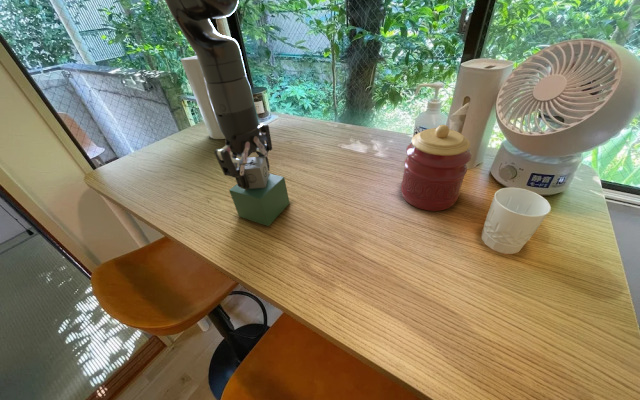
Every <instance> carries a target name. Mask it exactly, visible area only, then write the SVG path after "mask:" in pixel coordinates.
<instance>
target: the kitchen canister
mask: <svg viewBox="0 0 640 400" xmlns="http://www.w3.org/2000/svg"><path fill="white" fill-rule="evenodd" d="M470 147H471V141H470V140H469V139H468V138H467V137H466V136H464V135H463V134H462V133H461V132H459V131H457V130H454V129H450V127H449V126H448V125H446V124H439V125H437V127H431V128H427V129H424V130H422V131H420V132H418V133H416V134H414V135H413V136H412V138H411V142H410V143H409V144H408V145H407V146H406V149H405V150H406V151H405V152H406V155H407V157H406V158H405V160H404V164H403V165H404V169H403V175H402V181H401V184H400V190H401V196H402V198H403V199H404V200H405V202H406V203H408V204H410V205H411V206H413V207H414V208H418V209H420V210H424V211H432V212H433V211H434V212H436V211H444V210H447V209H449V208H451V207H453V206H454V205H455V204H456V202H457V201H458V199H459V197H460V194H461V187H462V184H463V182H464V178H465V175H466V174H467V172H468V166H467V164H468V163H469V162H470V161H471V159H472V155H473V154H472V151H471V150H470Z"/></svg>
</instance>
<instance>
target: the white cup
mask: <svg viewBox="0 0 640 400" xmlns="http://www.w3.org/2000/svg"><path fill="white" fill-rule="evenodd" d="M551 211H552V207H551V204H550V202H549V201H548V200H547V199H546V198H545V197H543V196H542V195H540V194H538V193H536V192H535V191H532V190H529V189H525V188H521V187H512V186H511V187H502V188H500V189H498V190H496V191H495V193H494V195H493V197H492V200H491V204H490V206H489V209H488V212H487V214H486V218H485V221H484V224H483V228H482V231H481V237H480V238H481V240H482V242H483V243H484V244H485V246H487V247H488V248H489V249H491V250H493V251H495V252H497V253H499V254H505V255H514V254H518V253H519V252H520V251H521V250H522V249H523V248H524V246H525V245H526V243H528V242H529V241H530V239H531V238H532V237H533V236H534V234H535V233H536V232H537V230H538V229H539V227H540V226H541V225H542V223H543V222H544V220H545V219H546V218H547V216H548V215H549V214H550V212H551Z"/></svg>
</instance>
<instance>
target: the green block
mask: <svg viewBox="0 0 640 400" xmlns="http://www.w3.org/2000/svg"><path fill="white" fill-rule="evenodd" d="M269 175H270V176H269V179H268V181H267V184H266V187H265V188H251V189H247V190H246V189H243V188H240V187H239V186H238V184H237V183H236V184H235V185H233V186H232V187H231V188H230V189H229V190H228V191H229V194H230V196H231V200H232V202H233V204H234V207H235V210H236V213H237V215H238V217H240V218H242V219H245V220H249V221H251V222H254V223H256V224H260V225H263V226H266V227H269V226H270V225H271V224H272V223H273V222H274V221H275V220H276V219H277V218H278V217H279V215H280V214H281V213H282V212H283V211H284V210H285V209H286V208H287V207H288V206H289V205H290V199H289V193H288V188H287V183H286V179H285V177H284V176H281V175H277V174H273V173H269Z"/></svg>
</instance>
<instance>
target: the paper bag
mask: <svg viewBox="0 0 640 400" xmlns="http://www.w3.org/2000/svg"><path fill="white" fill-rule="evenodd" d="M180 62H181V64H182V67H183V70H184V72H185V75H186V78H187V80H188V83H189V85H190V88H191V91H192V93H193V96H194V98H195V101H196V104H197V106H198V109H199V112H200V114H201V117H202V120H203V123H204V125H205V128H206V130H207V134H208V135H209V137H210V138H211V139H212V140H223V139H225V136H224V135H223V134H222V132H221V130H220V128H219V125H218V122H217V119H216V116H215V113H214V110H213V107H212V104H211V101H210V99H209V95H208V91H207V86H206V82H205V79H204V76H203V73H202V70H201V67H200V64H199V62H198V58H197V56H196V55H192V56H188V57H183V58H180ZM225 140H226V139H225Z"/></svg>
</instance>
